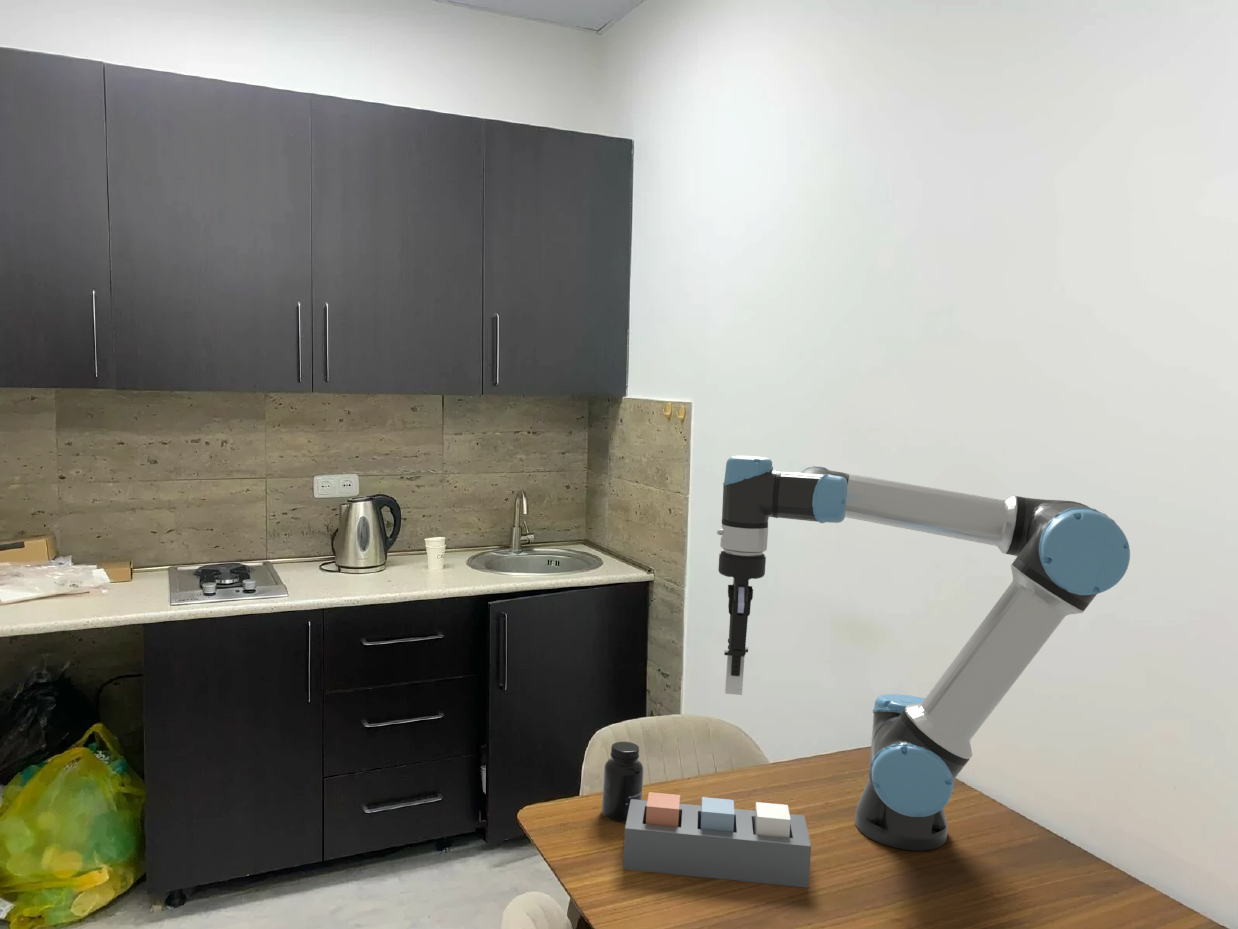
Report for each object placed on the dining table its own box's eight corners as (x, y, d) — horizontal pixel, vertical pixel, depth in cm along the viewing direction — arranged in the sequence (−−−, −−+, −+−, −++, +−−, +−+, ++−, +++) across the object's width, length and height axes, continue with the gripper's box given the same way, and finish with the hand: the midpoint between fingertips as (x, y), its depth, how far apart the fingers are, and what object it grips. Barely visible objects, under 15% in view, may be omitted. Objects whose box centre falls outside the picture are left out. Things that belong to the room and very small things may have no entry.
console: (801, 854, 145) (804, 815, 144) (808, 888, 135) (811, 846, 135) (628, 837, 148) (630, 799, 147) (622, 869, 138) (625, 828, 137)
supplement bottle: (637, 825, 152) (640, 756, 151) (597, 820, 153) (601, 751, 152) (644, 807, 158) (647, 741, 157) (606, 802, 160) (609, 736, 159)
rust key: (678, 825, 144) (680, 795, 144) (677, 840, 139) (679, 809, 139) (647, 822, 145) (648, 792, 144) (645, 837, 140) (646, 806, 139)
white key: (785, 835, 142) (787, 805, 142) (788, 851, 137) (790, 819, 137) (753, 832, 143) (755, 802, 142) (755, 848, 138) (757, 816, 138)
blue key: (731, 830, 143) (733, 800, 143) (732, 846, 138) (734, 814, 138) (700, 827, 144) (702, 797, 143) (699, 842, 139) (701, 811, 138)
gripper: (719, 543, 153) (710, 678, 155) (719, 556, 140) (710, 704, 142) (763, 546, 152) (754, 682, 154) (768, 560, 139) (758, 708, 141)
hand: (733, 692), depth 148 cm, fingers closed
